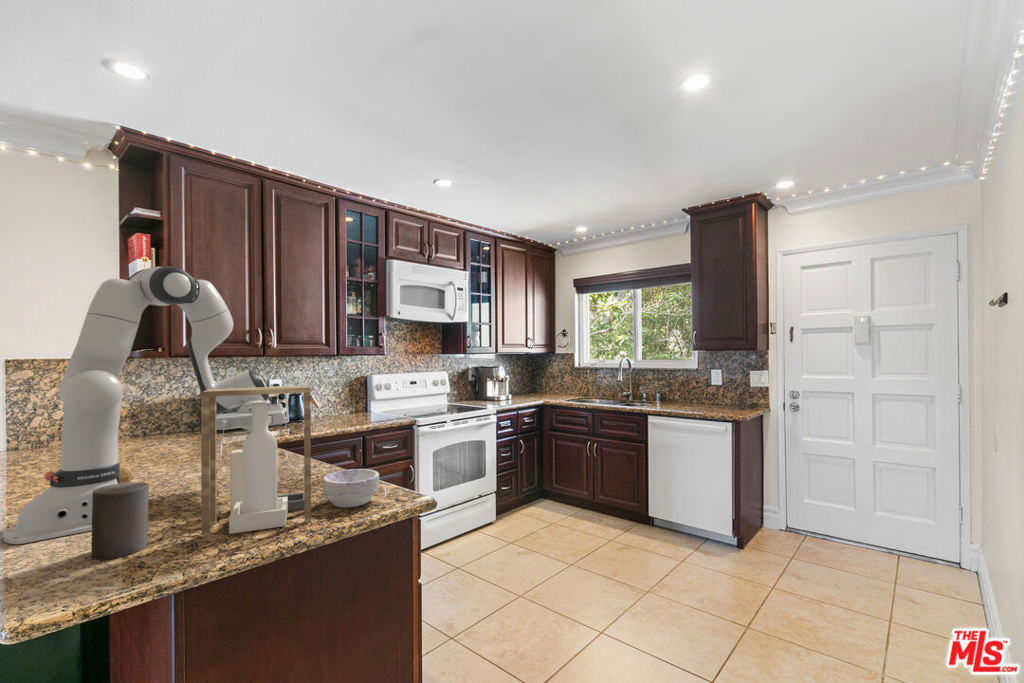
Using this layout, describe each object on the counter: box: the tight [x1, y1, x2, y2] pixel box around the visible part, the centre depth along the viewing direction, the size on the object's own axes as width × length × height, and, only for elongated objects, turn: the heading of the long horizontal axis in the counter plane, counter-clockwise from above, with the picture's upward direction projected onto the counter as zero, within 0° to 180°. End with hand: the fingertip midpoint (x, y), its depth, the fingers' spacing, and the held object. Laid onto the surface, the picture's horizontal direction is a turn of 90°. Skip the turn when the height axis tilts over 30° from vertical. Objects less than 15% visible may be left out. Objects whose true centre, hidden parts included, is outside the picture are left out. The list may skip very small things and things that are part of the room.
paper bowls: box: [322, 468, 380, 509], centre depth 136 cm, size 15×15×8 cm
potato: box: [119, 466, 133, 484], centre depth 153 cm, size 10×14×8 cm
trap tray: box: [277, 492, 305, 512], centre depth 132 cm, size 8×14×2 cm, turn 113°
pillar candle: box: [90, 481, 150, 561], centre depth 105 cm, size 10×10×15 cm
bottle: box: [242, 402, 278, 514], centre depth 121 cm, size 8×8×30 cm
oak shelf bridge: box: [200, 384, 312, 538], centre depth 121 cm, size 10×24×34 cm, turn 113°
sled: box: [228, 449, 289, 535], centre depth 125 cm, size 22×14×16 cm, turn 23°
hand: (244, 424), depth 139 cm, fingers open, 8 cm apart
